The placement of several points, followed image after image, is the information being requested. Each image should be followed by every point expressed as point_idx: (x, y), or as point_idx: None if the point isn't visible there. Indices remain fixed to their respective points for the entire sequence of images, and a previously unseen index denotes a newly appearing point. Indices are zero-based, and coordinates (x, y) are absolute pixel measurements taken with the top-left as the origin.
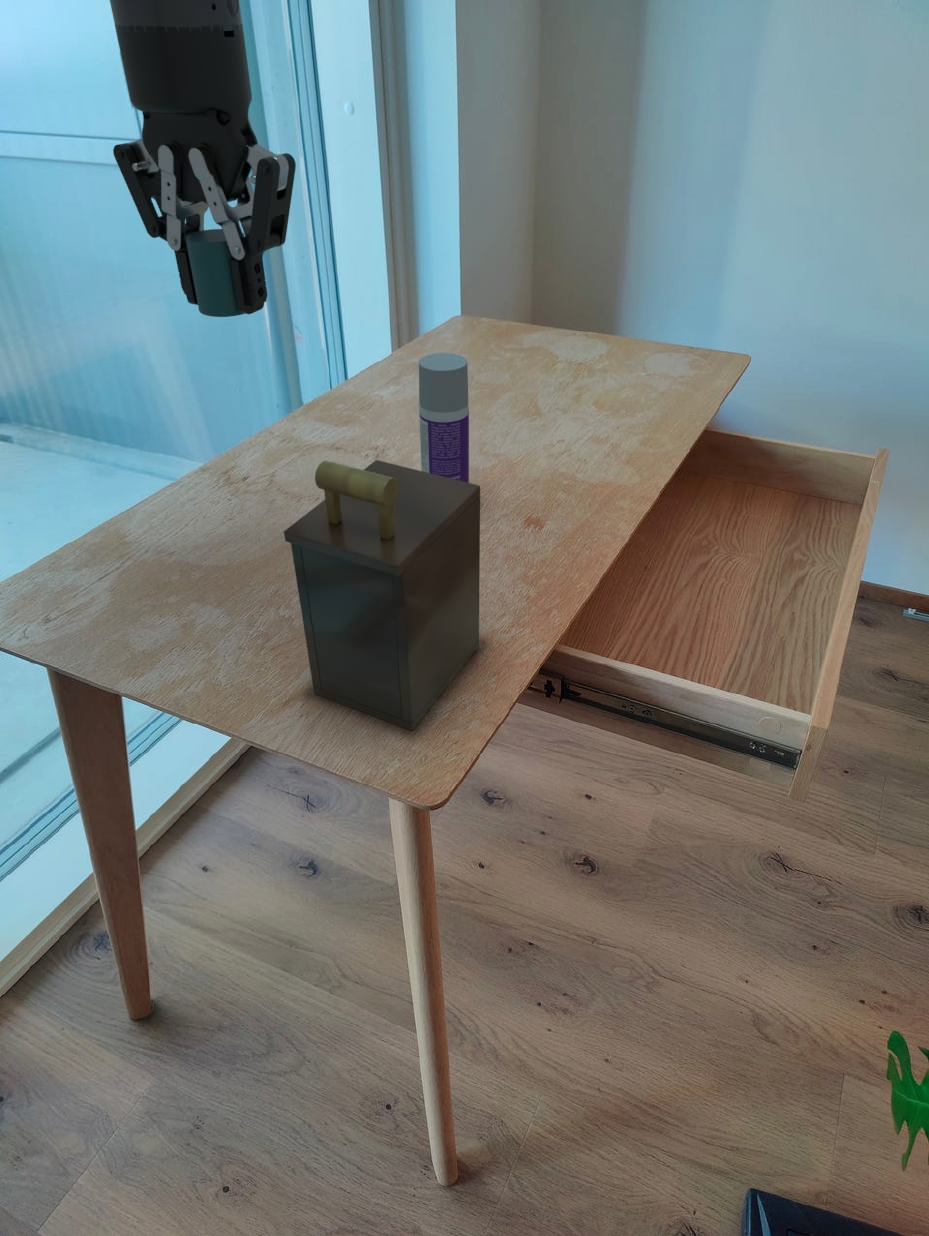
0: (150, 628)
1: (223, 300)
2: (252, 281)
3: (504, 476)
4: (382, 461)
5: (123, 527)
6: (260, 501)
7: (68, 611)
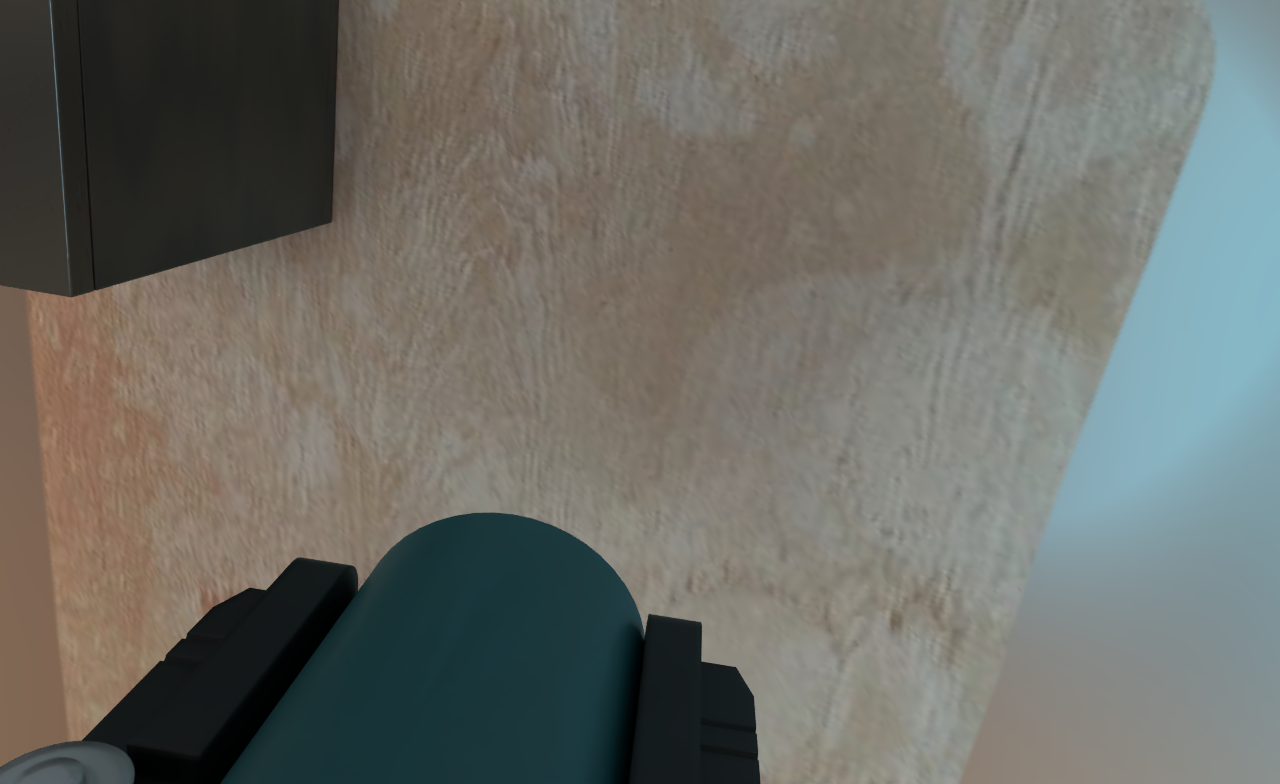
0: (794, 12)
1: (391, 573)
2: (150, 673)
3: None
4: (49, 293)
5: (1084, 358)
6: (811, 544)
7: (1024, 3)
